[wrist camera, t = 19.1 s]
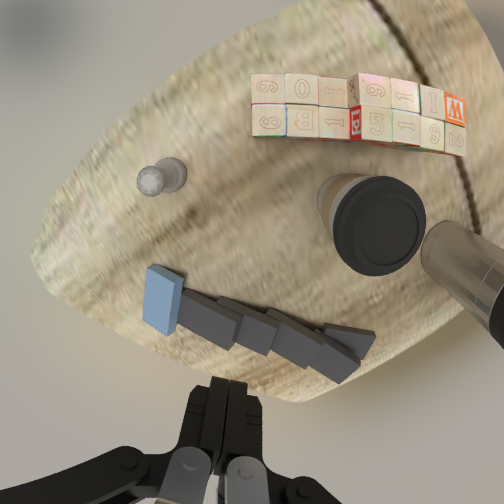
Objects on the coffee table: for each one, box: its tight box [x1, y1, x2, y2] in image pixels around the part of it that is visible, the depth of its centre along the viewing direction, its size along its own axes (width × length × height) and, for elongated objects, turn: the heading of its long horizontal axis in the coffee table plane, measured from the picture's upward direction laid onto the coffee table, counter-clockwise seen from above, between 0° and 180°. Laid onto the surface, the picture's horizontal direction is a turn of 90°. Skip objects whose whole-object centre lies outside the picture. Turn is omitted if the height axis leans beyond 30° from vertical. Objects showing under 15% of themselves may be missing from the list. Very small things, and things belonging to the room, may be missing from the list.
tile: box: [142, 264, 184, 336], centre depth 39 cm, size 2×5×9 cm
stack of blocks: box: [251, 73, 466, 157], centre depth 26 cm, size 21×6×12 cm, turn 90°
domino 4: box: [321, 323, 376, 360], centre depth 42 cm, size 2×5×9 cm
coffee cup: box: [317, 174, 426, 276], centre depth 28 cm, size 9×9×15 cm
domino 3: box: [265, 308, 325, 369], centre depth 39 cm, size 2×5×9 cm
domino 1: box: [177, 288, 243, 351], centre depth 39 cm, size 2×5×9 cm
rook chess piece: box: [137, 158, 186, 197], centre depth 31 cm, size 4×4×8 cm
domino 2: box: [216, 296, 281, 356], centre depth 39 cm, size 2×5×9 cm
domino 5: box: [309, 328, 361, 384], centre depth 40 cm, size 2×5×9 cm
